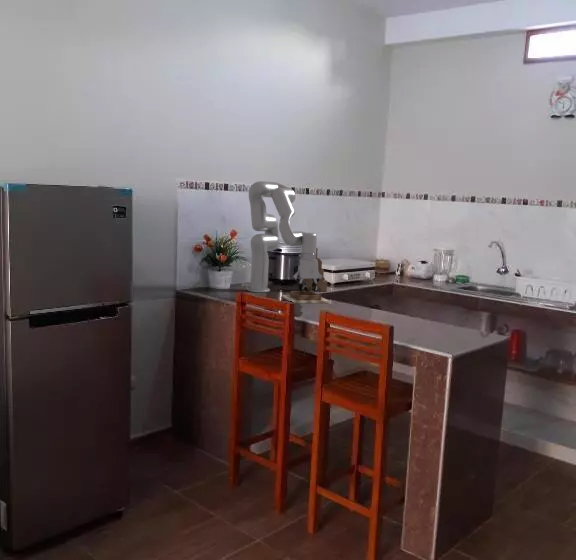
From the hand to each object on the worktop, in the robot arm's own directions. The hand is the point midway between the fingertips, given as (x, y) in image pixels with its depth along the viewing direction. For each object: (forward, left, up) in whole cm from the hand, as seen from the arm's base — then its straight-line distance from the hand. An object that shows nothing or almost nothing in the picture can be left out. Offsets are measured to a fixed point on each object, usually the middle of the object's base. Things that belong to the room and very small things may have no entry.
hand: (307, 290), depth 330 cm
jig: (0, +1, -5) cm, 5 cm away
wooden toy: (+15, +29, -5) cm, 33 cm away
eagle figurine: (0, +2, -2) cm, 3 cm away
